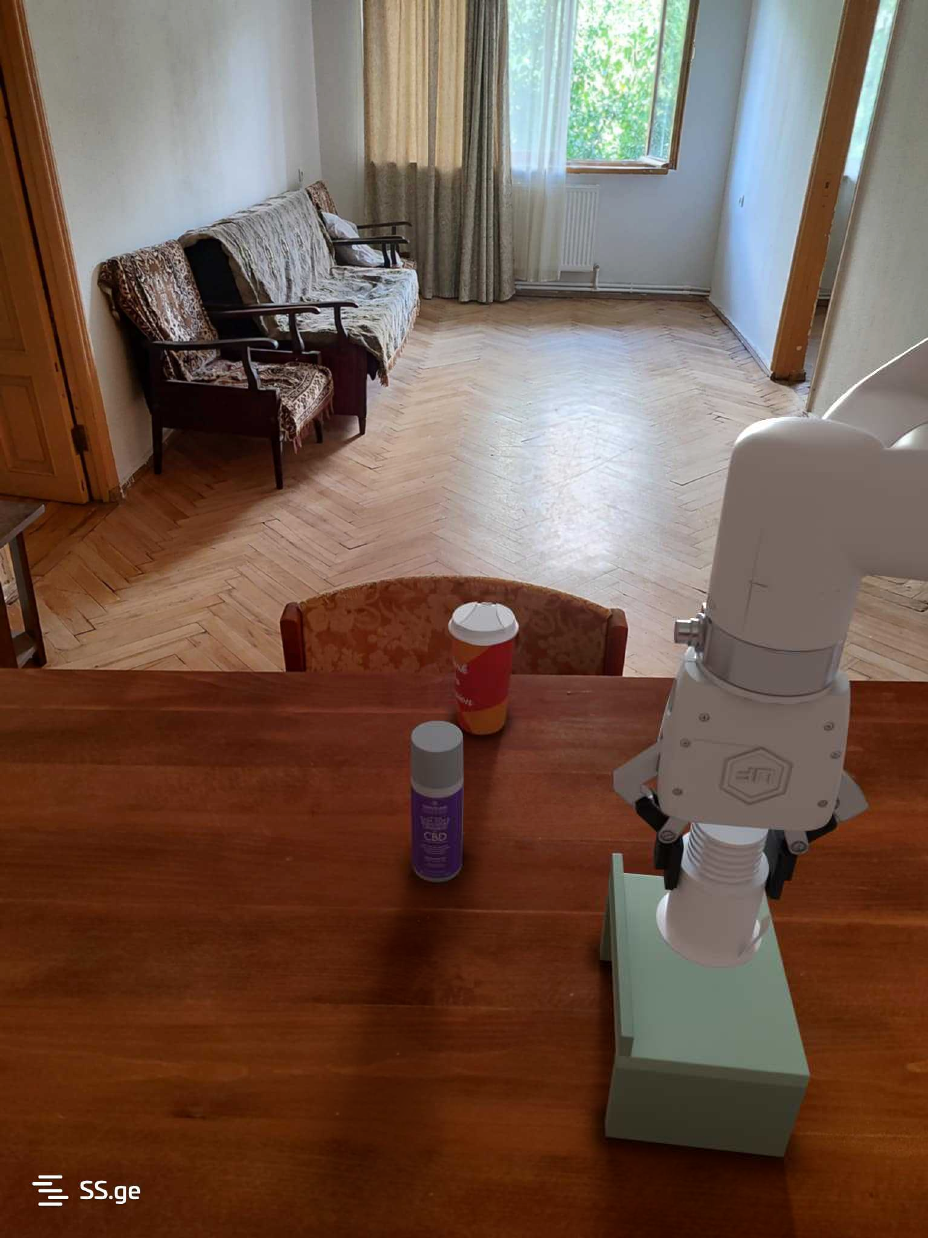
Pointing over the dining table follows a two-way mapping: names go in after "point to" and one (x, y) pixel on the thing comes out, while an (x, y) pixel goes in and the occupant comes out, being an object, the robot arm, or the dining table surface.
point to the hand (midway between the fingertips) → (718, 877)
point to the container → (437, 800)
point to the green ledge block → (697, 1035)
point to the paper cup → (482, 664)
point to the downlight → (717, 897)
